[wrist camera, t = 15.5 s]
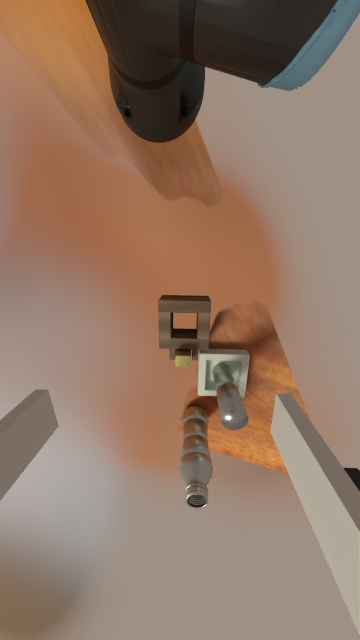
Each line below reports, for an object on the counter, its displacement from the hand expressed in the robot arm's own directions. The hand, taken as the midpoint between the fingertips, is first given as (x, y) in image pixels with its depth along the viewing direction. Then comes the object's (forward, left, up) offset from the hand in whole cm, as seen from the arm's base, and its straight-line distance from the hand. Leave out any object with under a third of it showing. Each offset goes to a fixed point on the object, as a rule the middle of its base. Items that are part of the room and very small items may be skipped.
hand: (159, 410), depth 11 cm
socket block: (+5, +1, -33) cm, 34 cm away
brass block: (+10, +1, -33) cm, 34 cm away
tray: (+17, +10, -33) cm, 39 cm away
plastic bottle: (+30, +4, -34) cm, 45 cm away
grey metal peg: (+17, +10, -33) cm, 38 cm away
